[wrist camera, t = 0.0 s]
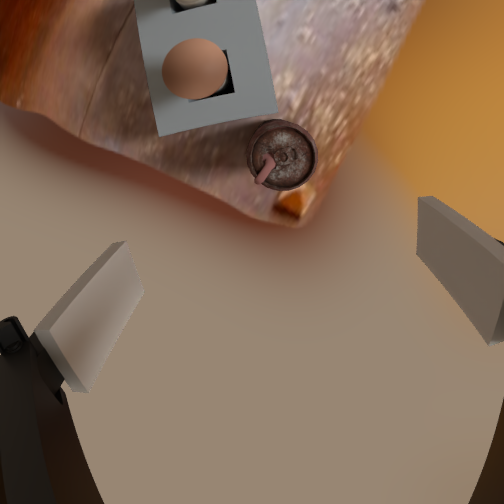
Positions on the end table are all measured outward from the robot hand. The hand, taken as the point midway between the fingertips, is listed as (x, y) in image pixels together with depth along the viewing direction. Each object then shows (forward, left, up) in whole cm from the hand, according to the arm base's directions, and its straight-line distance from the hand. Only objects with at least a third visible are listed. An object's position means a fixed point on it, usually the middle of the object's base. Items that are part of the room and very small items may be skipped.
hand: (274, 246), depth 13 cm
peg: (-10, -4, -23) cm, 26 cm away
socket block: (-15, -4, -28) cm, 32 cm away
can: (-1, +1, -28) cm, 28 cm away
